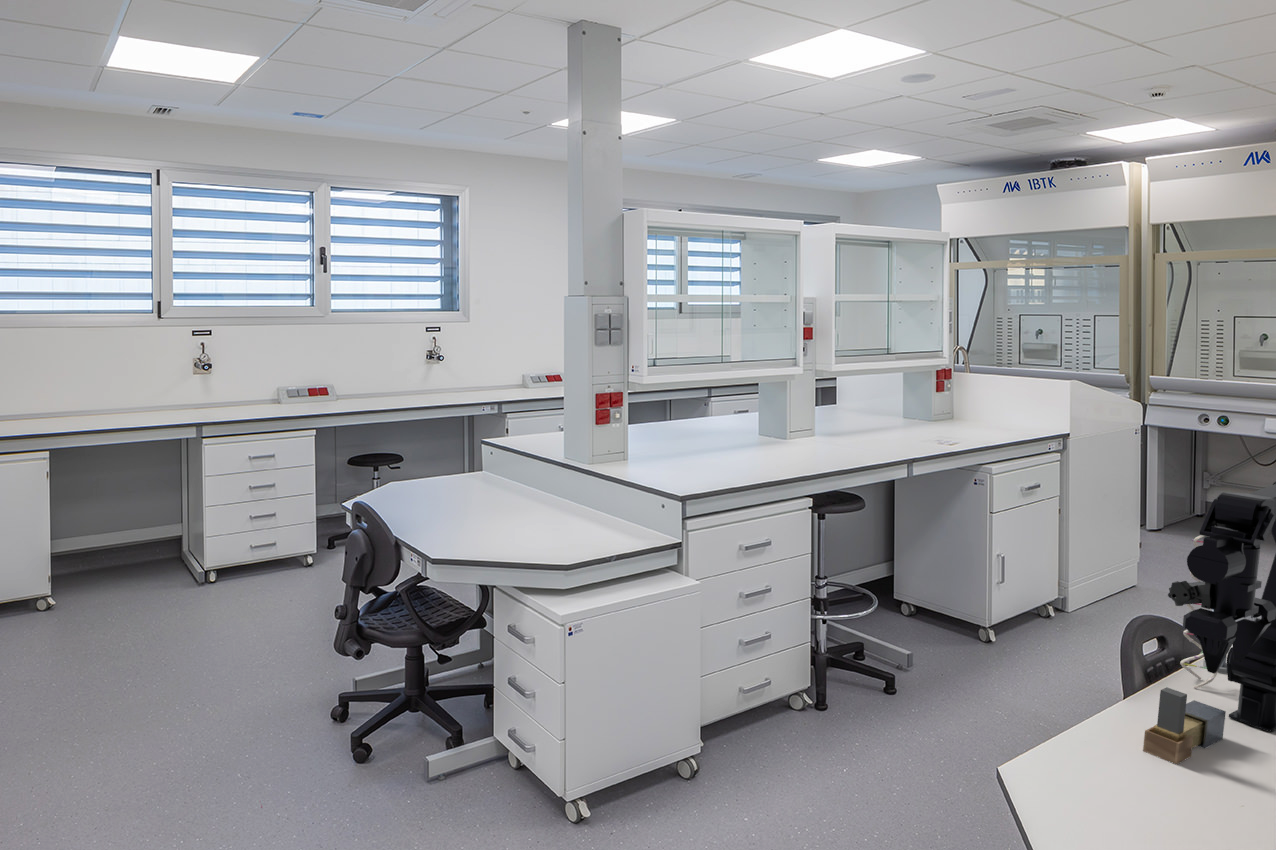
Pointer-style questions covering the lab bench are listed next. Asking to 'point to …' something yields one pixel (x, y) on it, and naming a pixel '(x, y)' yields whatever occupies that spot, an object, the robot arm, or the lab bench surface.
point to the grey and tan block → (1177, 718)
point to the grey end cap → (1208, 721)
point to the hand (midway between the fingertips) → (1225, 666)
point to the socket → (1167, 747)
